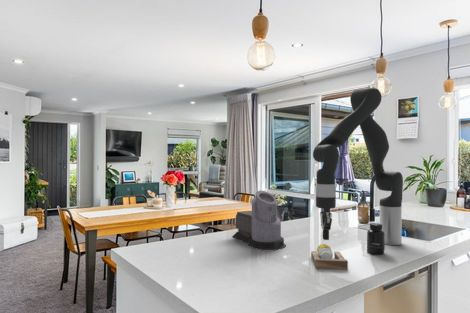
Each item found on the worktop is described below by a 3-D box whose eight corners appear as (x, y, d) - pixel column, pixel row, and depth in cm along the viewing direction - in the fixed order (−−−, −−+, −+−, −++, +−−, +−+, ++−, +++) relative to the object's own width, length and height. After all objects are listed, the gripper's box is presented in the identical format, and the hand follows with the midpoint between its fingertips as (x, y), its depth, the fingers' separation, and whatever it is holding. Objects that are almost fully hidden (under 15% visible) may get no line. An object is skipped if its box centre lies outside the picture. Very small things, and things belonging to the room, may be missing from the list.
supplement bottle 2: (374, 255, 130) (374, 226, 130) (363, 251, 137) (363, 222, 137) (388, 254, 132) (388, 225, 132) (377, 249, 139) (376, 222, 139)
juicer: (293, 247, 143) (293, 192, 144) (264, 252, 135) (264, 194, 135) (254, 233, 169) (254, 186, 169) (227, 237, 160) (227, 188, 160)
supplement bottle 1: (314, 252, 130) (316, 259, 120) (321, 240, 129) (323, 247, 120) (326, 259, 129) (329, 267, 120) (333, 248, 129) (336, 255, 119)
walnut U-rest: (311, 257, 129) (311, 249, 129) (339, 258, 127) (339, 250, 127) (316, 268, 115) (316, 260, 115) (347, 269, 114) (347, 261, 114)
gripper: (339, 197, 120) (339, 244, 120) (332, 193, 133) (332, 235, 133) (318, 197, 121) (318, 243, 121) (313, 193, 134) (313, 235, 134)
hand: (325, 239), depth 127 cm, fingers closed
